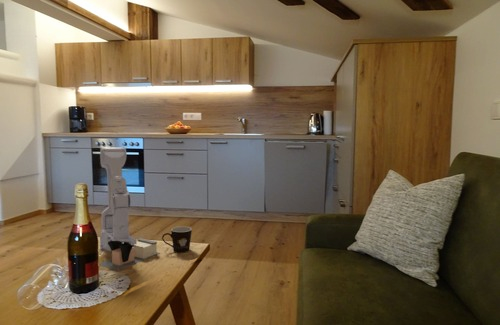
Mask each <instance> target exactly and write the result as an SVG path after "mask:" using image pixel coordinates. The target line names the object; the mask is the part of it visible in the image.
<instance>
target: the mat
mask: <svg viewBox="0 0 500 325" xmlns="http://www.w3.org/2000/svg"><path fill="white" fill-rule="evenodd" d="M158 255H161V252H158V251H157V254H155V255H152V256H150V257H147V258H145V259H142V258H138V257H135V256H134V260H133V261H131V262H128V263H125V264H123V265H120V266H119V265H115V264H112V258H111V259H108V260H105V261H103V262H100V263H98V264H99V265H98V266H99V267H103V268H108V269H110V270H113V271H117V272H118V271H120V270H122V269H125V268H128V267H130V266H133V265H135V264H137V263H140V262H142V261H145V260H148V259H150V258H154V257H156V256H158Z"/></svg>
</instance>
